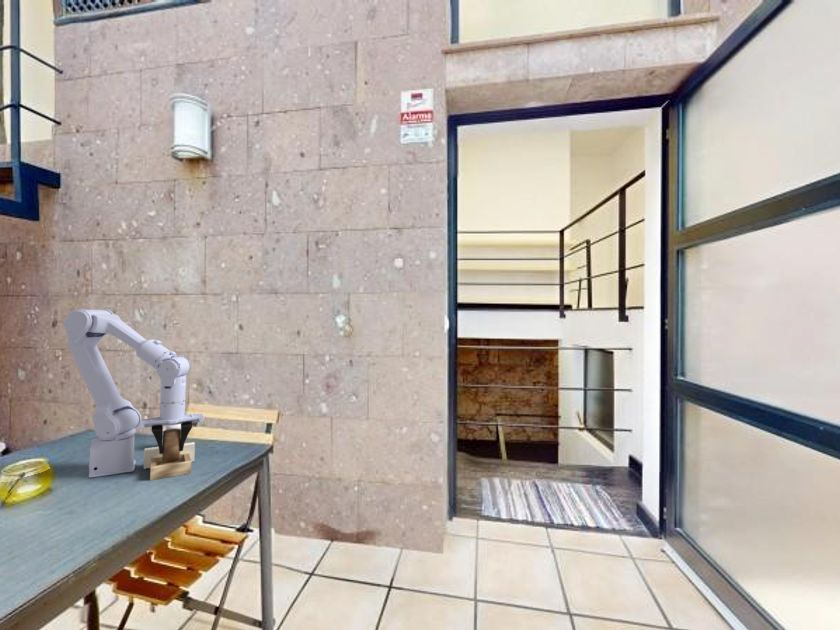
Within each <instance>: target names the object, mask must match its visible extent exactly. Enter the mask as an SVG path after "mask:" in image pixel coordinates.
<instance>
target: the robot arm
mask: <svg viewBox="0 0 840 630" xmlns="http://www.w3.org/2000/svg"><path fill="white" fill-rule="evenodd" d="M63 327H64V329H65V331H66V333H67V344H68V345H67V346H68V350H69V351H70V354H71V356H72V358H73V359H74V363H76V366H77V368H78V370H79V372H80V375H81V377H82V378H83V380H84V383H85V385H86V387H87V389H88V391H89V393H90V395H91V397H92V399H93V401H94V404H95V406H96V409H95V411H93V414H92V416H91V418H92V421H93V424H94V426H93V431H94V433H95V435H96V436H97V437H98V438H93V439H91V442H90V447H89V461H88V478H89V479H90V478H98V477H104V476H105V477H106V476H111V475H117V474H124V473H130V472H134V471H135V469H136V462H137V461H136V459H135V457H134V456H135V433H137V431H136V430H137V428H138V427H139V430H141V429H145V428H151V433H152V434H153V437H154V439H155V441H156V443H157V447H159V454H163V431H164V429H163V428H164V427H163V426H167V425H174V424H181V438H180V451H183V447H184V443H185V440H186V441H187V438H188V435H190V432H191V430H192V429H193V423H204V414H203V413H194V414H193V413H192V414H191V413H190V414H189V413H188V414H186V393H187V375H188V374H189V373H190V371H191V369H192V364H191V361H190V359H188V358H187V357H186V356H185V355H181V354H180V355H177V352H175V351H174V350H173V351H171V350H169V349H168V348H167V347H165V346H164V345H162V344H163V342H162V341H161V340H159V339H157V340H155V339H153V338H152V339H146V338H144V337H143V336H142V335H141V334H140V333H138V332H137V331H136V330H134V329H133V328H132V327H130V325H128V324H127V323H125V321H123V320H122V319H121V317H120V316H119V315H117V314H115V313H113V311H111V310H110V309H105V308H102V309H84V308H76V309H73V310H71V311H70V312H69V313H68V314H67V315H66V317H65V320H64V321H63ZM108 334H110V335H111V336H113V337H114V338H116V339H118V340H119V341H121V342H123V343H124V344H126V345H128V346H129V347H131V348H133V349H135V354H136V357H138V358H139V359H140V360H142V361H144V362H145V363H146V364H148V365H150V366H151V367H152V368H153V369H155V371H156V374H157V376H158V377H159V379H160V385H161V387H160V411H159V416H157V417H156V416H155V417H151V418H145V419H142V415H141V413H140V412H139V410H138V409H137V408H135V407H134V406H133V405H132V402H131V401H129V400H127V399H126V398H123V397H122V396H121V394H120V392H119V389H118V388H117V385H116V384H115V381H114V379H113V378H112V377H113V376H112V375H111V373H110V371H109V369H108V367H107V365H106V362H105V360H104V358H103V356H102V353H101V352H100V350H99V347H98V345H99V343H100V342H101V341H102V339H103V338H105V337H106V335H108Z"/></svg>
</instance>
